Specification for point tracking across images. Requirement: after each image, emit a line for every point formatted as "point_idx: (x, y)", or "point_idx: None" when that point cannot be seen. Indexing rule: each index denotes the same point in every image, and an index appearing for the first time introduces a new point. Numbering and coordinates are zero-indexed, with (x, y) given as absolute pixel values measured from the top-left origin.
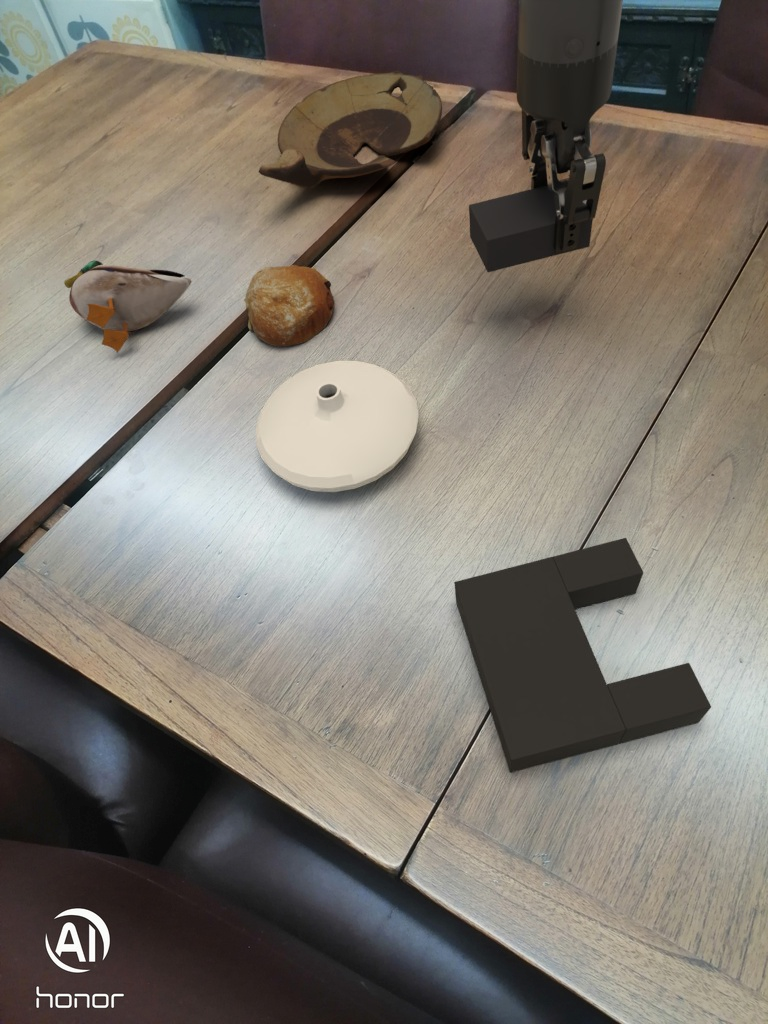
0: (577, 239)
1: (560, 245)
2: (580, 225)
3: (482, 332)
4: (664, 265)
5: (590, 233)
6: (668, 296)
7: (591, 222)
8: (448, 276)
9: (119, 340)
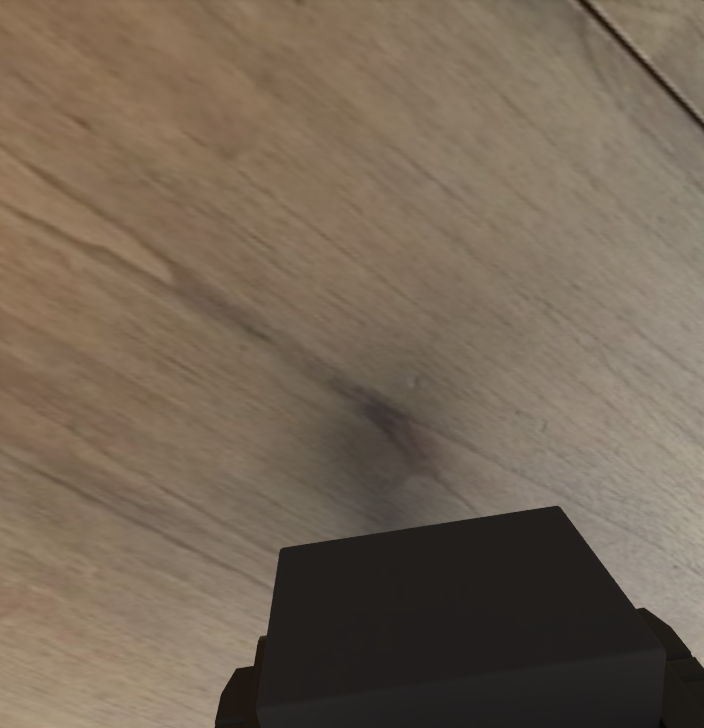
0: (687, 653)
1: None
2: (683, 686)
3: None
4: (245, 42)
5: (592, 554)
6: (402, 79)
7: (633, 607)
8: (208, 626)
9: None
